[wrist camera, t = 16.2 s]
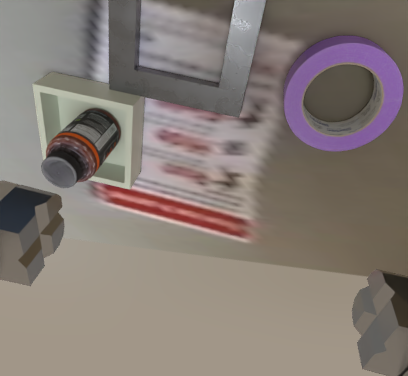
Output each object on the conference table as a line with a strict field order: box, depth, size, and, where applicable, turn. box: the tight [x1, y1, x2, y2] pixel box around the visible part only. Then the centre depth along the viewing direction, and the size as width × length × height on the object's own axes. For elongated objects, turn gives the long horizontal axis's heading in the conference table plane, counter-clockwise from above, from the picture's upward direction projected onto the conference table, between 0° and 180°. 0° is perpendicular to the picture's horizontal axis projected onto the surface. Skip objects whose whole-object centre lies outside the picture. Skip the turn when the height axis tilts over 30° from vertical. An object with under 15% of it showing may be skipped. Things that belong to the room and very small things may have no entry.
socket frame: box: [109, 0, 266, 117], centre depth 38 cm, size 16×16×2 cm
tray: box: [33, 72, 145, 189], centre depth 46 cm, size 12×12×4 cm
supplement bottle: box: [41, 109, 121, 188], centre depth 42 cm, size 6×6×11 cm
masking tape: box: [284, 36, 403, 151], centre depth 38 cm, size 12×12×4 cm
